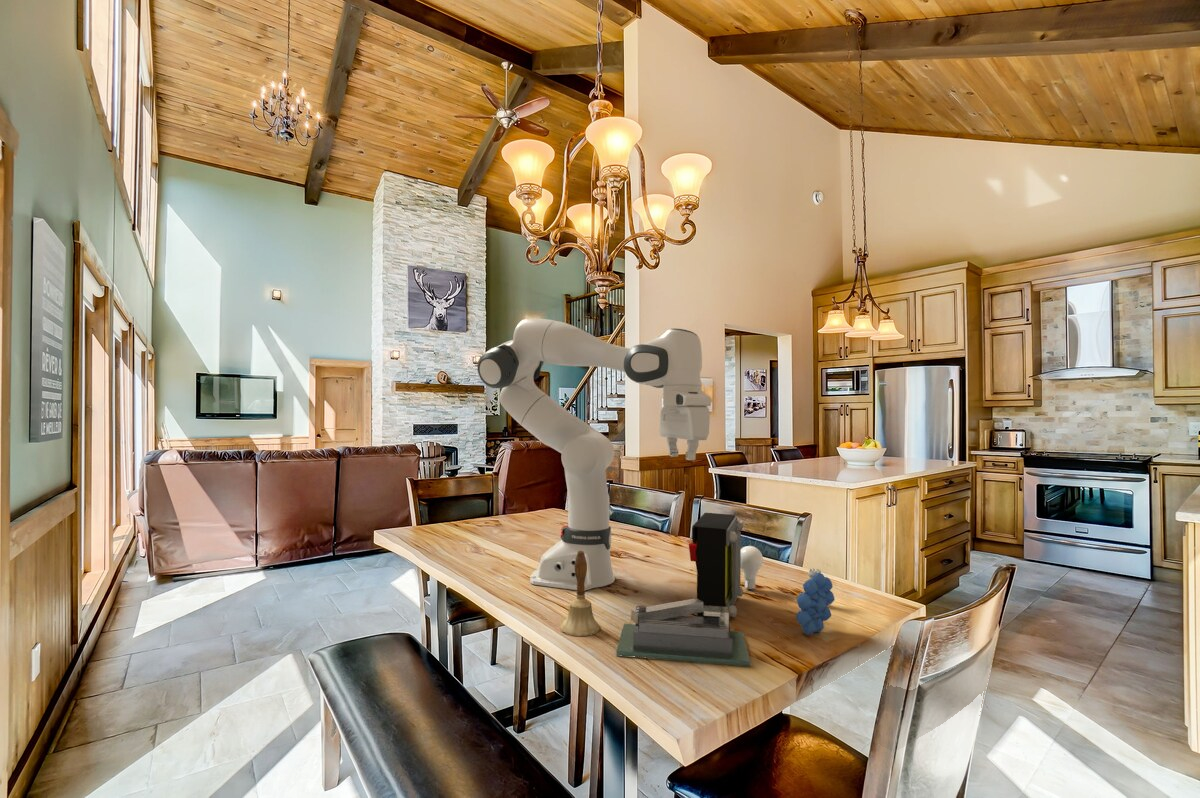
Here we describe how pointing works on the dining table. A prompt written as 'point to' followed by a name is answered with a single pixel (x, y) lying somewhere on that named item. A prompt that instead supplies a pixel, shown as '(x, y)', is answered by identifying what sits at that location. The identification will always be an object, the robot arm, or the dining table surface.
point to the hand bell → (580, 605)
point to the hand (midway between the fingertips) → (681, 458)
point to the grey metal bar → (666, 610)
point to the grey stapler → (686, 639)
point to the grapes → (815, 603)
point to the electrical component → (717, 560)
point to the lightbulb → (750, 565)
